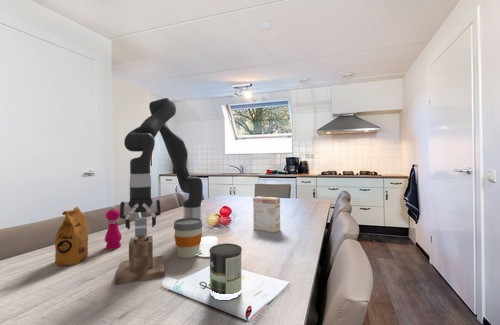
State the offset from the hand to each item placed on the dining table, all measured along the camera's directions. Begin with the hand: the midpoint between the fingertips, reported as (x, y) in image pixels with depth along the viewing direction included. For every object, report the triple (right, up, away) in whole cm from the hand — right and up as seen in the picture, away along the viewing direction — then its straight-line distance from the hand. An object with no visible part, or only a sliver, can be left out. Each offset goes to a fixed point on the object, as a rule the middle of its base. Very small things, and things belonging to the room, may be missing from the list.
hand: (141, 227), depth 98 cm
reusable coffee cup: (+14, -17, +17) cm, 28 cm away
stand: (0, -17, 0) cm, 17 cm away
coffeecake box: (+52, -16, +56) cm, 78 cm away
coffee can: (+34, -17, -16) cm, 41 cm away
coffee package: (-34, -17, +11) cm, 39 cm away
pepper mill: (-25, -17, +27) cm, 40 cm away
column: (0, -14, 0) cm, 14 cm away
